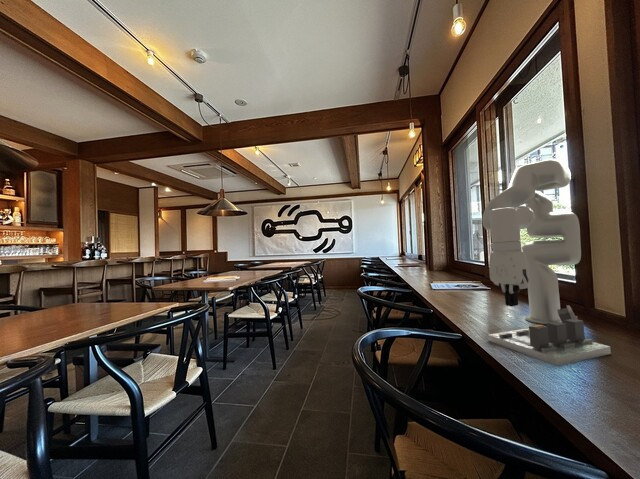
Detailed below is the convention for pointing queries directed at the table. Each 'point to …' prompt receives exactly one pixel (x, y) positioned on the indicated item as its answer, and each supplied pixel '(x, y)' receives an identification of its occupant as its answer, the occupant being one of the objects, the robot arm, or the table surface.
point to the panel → (550, 347)
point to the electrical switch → (566, 314)
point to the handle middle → (557, 332)
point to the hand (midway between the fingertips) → (512, 305)
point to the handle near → (575, 329)
